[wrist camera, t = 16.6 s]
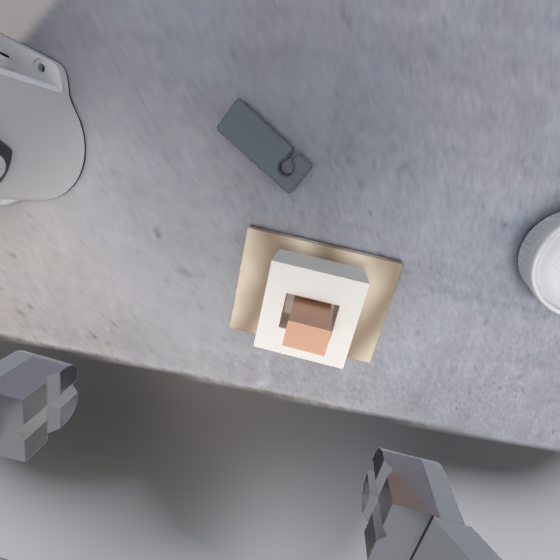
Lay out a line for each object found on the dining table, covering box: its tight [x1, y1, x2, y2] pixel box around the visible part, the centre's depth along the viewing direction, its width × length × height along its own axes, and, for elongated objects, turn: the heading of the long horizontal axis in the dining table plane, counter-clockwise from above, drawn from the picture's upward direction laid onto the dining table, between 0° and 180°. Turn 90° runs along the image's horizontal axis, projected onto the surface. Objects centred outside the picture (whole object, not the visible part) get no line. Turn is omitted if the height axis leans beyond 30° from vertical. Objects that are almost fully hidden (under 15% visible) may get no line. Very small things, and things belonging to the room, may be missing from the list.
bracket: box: [217, 99, 312, 193], centre depth 38 cm, size 4×10×2 cm, turn 50°
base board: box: [230, 226, 403, 363], centre depth 42 cm, size 18×13×2 cm
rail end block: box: [282, 295, 332, 356], centre depth 36 cm, size 4×3×9 cm, turn 78°
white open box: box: [254, 248, 370, 369], centre depth 39 cm, size 10×10×6 cm
